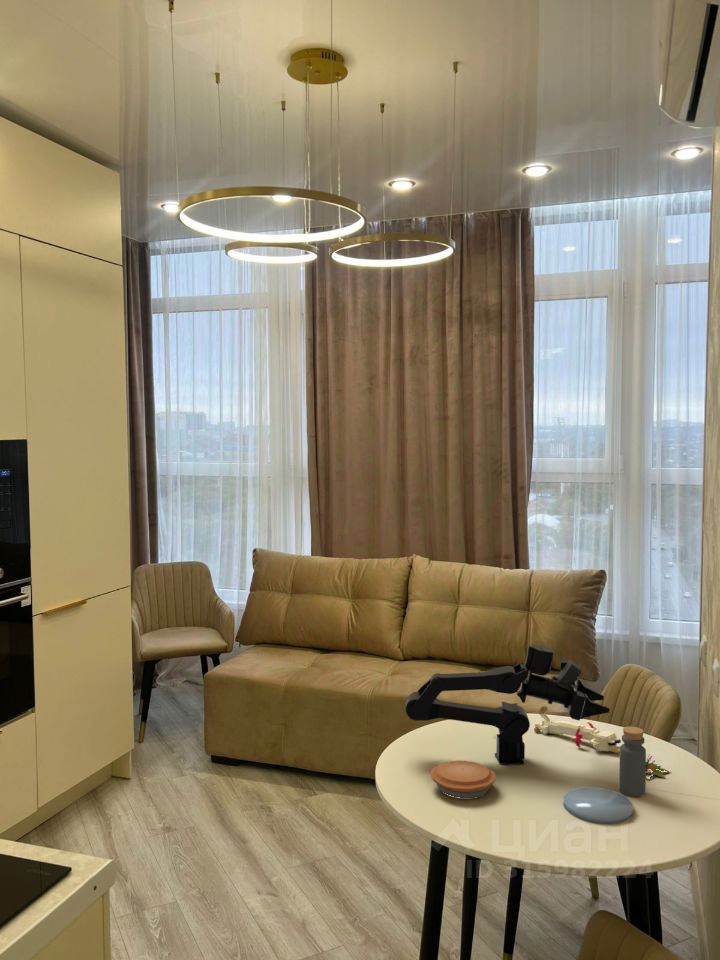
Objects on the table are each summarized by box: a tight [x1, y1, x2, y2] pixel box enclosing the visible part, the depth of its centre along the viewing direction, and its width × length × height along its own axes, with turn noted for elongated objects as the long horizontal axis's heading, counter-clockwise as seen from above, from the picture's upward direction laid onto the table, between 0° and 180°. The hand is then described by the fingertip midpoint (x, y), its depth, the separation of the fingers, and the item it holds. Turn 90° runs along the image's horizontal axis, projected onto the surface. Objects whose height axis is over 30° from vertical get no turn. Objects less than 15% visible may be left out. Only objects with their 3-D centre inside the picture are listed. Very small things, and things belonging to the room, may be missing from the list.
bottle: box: [618, 726, 647, 798], centre depth 189 cm, size 6×6×15 cm
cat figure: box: [533, 705, 622, 753], centre depth 221 cm, size 10×9×25 cm
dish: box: [563, 786, 634, 824], centre depth 181 cm, size 15×15×2 cm
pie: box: [429, 760, 497, 799], centre depth 191 cm, size 16×16×5 cm
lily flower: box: [645, 753, 670, 781], centre depth 201 cm, size 12×12×5 cm
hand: (606, 704), depth 204 cm, fingers open, 9 cm apart
